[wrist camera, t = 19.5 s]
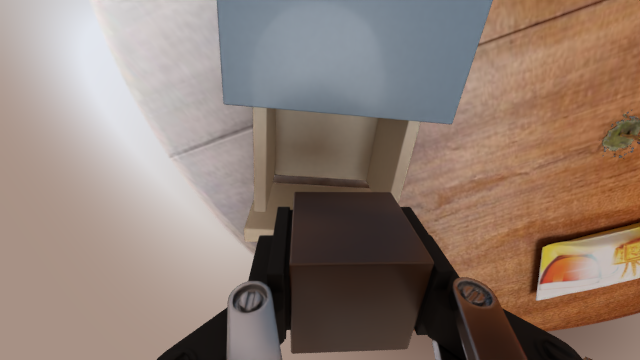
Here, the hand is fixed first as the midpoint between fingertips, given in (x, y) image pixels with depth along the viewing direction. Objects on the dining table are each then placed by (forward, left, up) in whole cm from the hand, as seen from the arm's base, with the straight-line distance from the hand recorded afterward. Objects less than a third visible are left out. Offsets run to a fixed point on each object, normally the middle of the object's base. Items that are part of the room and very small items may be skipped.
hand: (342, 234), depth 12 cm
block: (0, 0, -1) cm, 1 cm away
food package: (+41, -12, -14) cm, 45 cm away
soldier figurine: (+30, +1, -14) cm, 33 cm away
